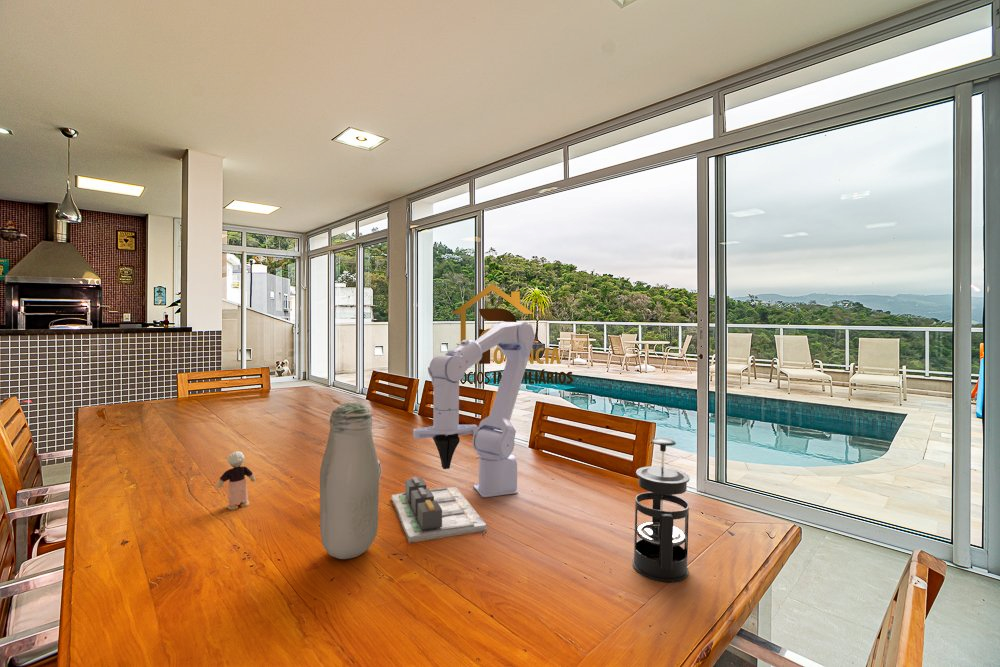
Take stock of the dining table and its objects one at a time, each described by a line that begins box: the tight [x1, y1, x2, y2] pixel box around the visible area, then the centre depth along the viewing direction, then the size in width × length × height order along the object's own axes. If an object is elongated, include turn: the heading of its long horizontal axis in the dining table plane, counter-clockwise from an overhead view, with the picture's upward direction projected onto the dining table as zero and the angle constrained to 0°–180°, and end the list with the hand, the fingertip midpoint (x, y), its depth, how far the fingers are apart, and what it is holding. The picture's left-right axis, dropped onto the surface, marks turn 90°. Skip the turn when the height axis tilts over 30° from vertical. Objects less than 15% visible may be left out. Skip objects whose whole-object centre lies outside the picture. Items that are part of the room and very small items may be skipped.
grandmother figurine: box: [216, 450, 257, 511], centre depth 107 cm, size 8×4×13 cm, turn 145°
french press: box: [632, 437, 691, 583], centre depth 82 cm, size 12×9×23 cm
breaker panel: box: [391, 486, 487, 544], centre depth 105 cm, size 16×23×2 cm
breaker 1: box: [404, 476, 427, 502], centre depth 111 cm, size 4×5×4 cm
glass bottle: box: [319, 402, 380, 560], centre depth 86 cm, size 10×10×28 cm
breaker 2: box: [411, 488, 434, 515], centre depth 104 cm, size 4×5×4 cm
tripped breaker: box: [418, 500, 442, 530], centre depth 97 cm, size 4×5×4 cm
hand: (445, 467), depth 106 cm, fingers closed
